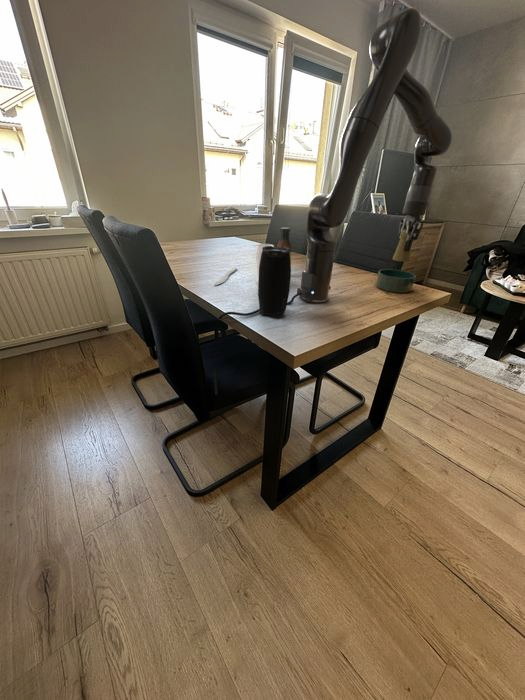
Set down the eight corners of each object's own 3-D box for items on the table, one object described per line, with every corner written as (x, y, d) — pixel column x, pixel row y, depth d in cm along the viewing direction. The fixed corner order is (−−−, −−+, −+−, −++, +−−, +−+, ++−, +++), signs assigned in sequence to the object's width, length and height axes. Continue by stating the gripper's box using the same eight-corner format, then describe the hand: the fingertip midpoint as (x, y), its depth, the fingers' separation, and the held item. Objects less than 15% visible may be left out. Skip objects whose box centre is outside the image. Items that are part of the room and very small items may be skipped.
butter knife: (239, 268, 132) (233, 267, 133) (219, 285, 110) (212, 284, 110) (239, 269, 133) (233, 268, 133) (219, 286, 110) (212, 285, 110)
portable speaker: (253, 309, 90) (255, 245, 80) (280, 307, 93) (285, 244, 83) (263, 320, 83) (266, 251, 73) (291, 317, 86) (298, 250, 76)
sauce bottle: (292, 275, 128) (296, 227, 118) (287, 278, 123) (291, 229, 113) (278, 273, 130) (281, 226, 120) (273, 276, 125) (276, 228, 115)
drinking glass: (275, 283, 115) (277, 245, 108) (266, 287, 110) (268, 247, 103) (261, 280, 118) (262, 243, 111) (252, 284, 113) (253, 245, 106)
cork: (406, 262, 107) (415, 231, 102) (390, 259, 110) (398, 229, 105) (410, 259, 111) (419, 230, 106) (394, 257, 114) (402, 228, 109)
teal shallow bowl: (395, 295, 108) (399, 280, 105) (368, 285, 119) (371, 270, 116) (418, 291, 114) (423, 276, 111) (390, 281, 125) (394, 268, 122)
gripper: (398, 198, 106) (386, 246, 115) (416, 200, 94) (401, 253, 103) (418, 199, 107) (404, 247, 115) (438, 201, 94) (421, 254, 103)
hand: (403, 249), depth 109 cm, fingers closed on cork, 4 cm apart
